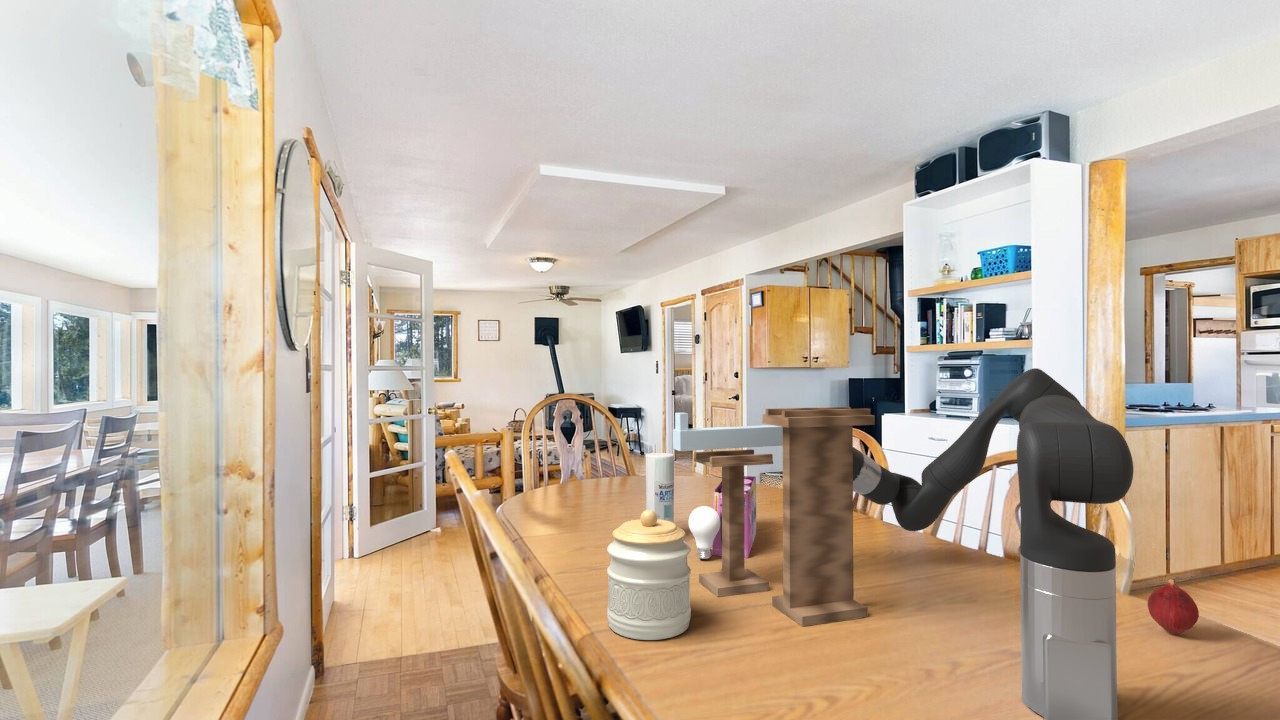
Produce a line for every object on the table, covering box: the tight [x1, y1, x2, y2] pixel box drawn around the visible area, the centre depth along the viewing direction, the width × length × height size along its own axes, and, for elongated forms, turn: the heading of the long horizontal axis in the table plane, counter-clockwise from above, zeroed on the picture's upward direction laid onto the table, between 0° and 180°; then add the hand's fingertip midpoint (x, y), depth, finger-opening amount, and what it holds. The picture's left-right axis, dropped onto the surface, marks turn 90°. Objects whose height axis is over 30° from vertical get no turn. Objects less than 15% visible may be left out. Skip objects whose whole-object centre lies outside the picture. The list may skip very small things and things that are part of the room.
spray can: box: [645, 452, 675, 524], centre depth 144 cm, size 6×6×20 cm
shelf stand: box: [761, 406, 876, 627], centre depth 103 cm, size 16×9×33 cm, turn 108°
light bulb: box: [688, 505, 721, 561], centre depth 131 cm, size 7×7×11 cm
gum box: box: [711, 475, 758, 559], centre depth 143 cm, size 24×8×14 cm, turn 165°
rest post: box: [693, 448, 774, 598], centre depth 115 cm, size 12×8×24 cm, turn 108°
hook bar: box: [672, 412, 783, 452], centre depth 116 cm, size 26×4×6 cm, turn 108°
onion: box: [1147, 578, 1200, 635], centre depth 94 cm, size 6×6×8 cm
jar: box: [606, 509, 692, 641], centre depth 98 cm, size 13×13×18 cm
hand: (783, 427), depth 118 cm, fingers closed on hook bar, 3 cm apart
